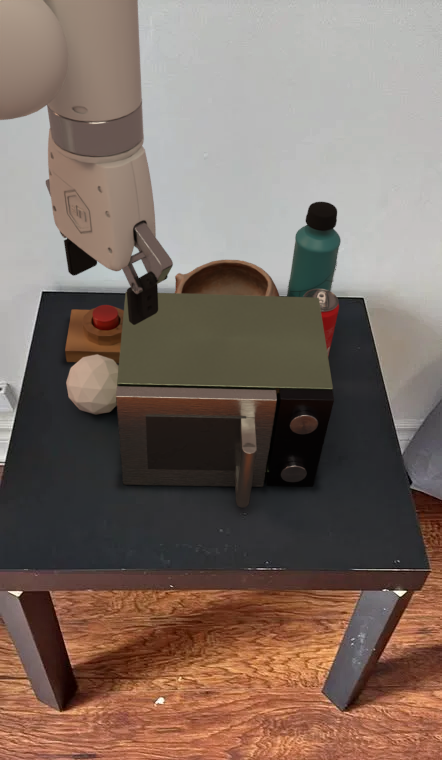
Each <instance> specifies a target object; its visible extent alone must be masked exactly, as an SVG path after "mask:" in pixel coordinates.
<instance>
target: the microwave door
mask: <svg viewBox="0 0 442 760" xmlns="http://www.w3.org/2000/svg"><path fill="white" fill-rule="evenodd" d="M116 403H117V406H116V415H117V424H118V425H117V427H118V437H119V438H118V439H119V451H120V452H119V453H120V462H121V463H120V464H121V475H122V485H125V486H175V487H176V486H182V487H184V486H185V487H234V488H235V489H234V490H235V491H234V492H235V504H236V505H237V506H238V508H239V507H240V508H247V507H248V506H249V505H250V500H251V494H252V488H264V484H265V480H266V476H265V472H266V466H267V460H268V453H269V447H270V441H271V435H272V428H273V422H274V416H275V409H276V403H277V395H276V390H251V389H209V388H168V387H127V386H117V391H116Z"/></svg>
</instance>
